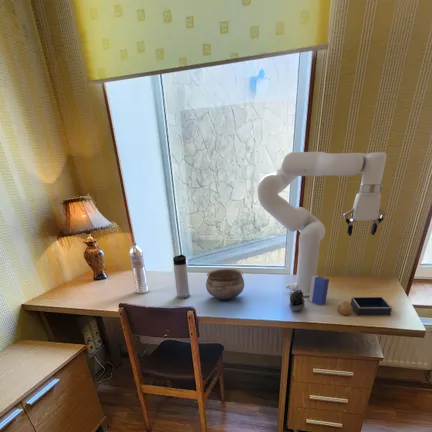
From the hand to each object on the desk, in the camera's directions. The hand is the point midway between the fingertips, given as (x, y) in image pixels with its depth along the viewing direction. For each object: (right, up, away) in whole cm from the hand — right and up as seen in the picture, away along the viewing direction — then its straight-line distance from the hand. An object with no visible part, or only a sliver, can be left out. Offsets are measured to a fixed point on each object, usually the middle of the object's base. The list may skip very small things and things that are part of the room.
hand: (360, 234), depth 144 cm
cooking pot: (-58, -22, +23) cm, 66 cm away
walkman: (-15, -27, +13) cm, 33 cm away
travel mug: (-80, -20, +27) cm, 87 cm away
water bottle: (-103, -15, +36) cm, 110 cm away
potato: (-8, -34, +1) cm, 35 cm away
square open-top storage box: (+5, -32, +3) cm, 33 cm away
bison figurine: (-28, +7, +14) cm, 33 cm away
